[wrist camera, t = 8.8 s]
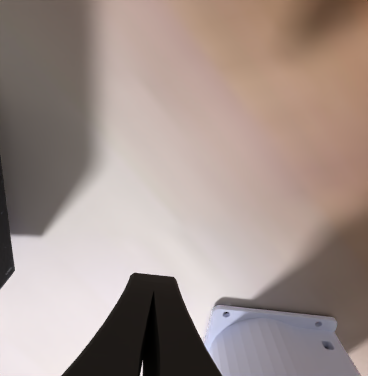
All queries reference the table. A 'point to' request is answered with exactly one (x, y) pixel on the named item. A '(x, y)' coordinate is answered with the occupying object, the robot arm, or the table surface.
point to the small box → (4, 238)
